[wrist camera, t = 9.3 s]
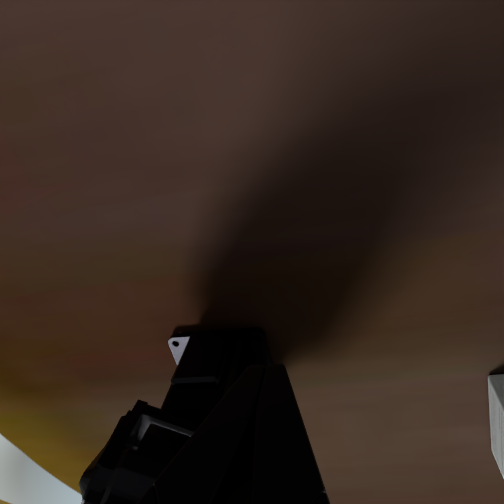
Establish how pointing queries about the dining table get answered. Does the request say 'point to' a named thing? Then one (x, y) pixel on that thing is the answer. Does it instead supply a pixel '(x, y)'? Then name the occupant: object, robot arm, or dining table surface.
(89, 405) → the dining table surface
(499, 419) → the supplement box
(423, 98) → the dining table surface
